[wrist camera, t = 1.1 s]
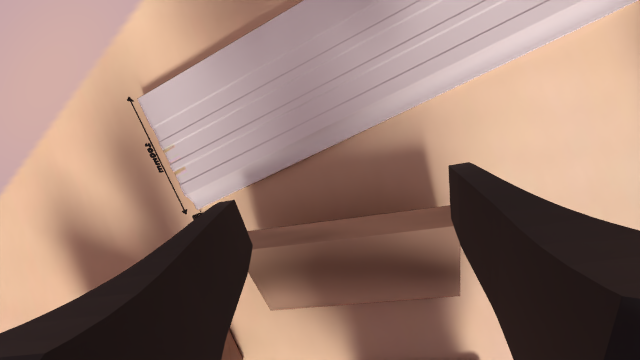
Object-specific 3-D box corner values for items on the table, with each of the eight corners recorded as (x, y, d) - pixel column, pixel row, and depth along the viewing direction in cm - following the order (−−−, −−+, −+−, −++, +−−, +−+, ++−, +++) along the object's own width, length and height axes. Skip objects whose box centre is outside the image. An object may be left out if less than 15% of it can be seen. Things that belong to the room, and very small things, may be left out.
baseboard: (670, 15, 18) (599, -162, 18) (722, -6, 15) (640, -217, 15) (211, 225, 25) (150, 100, 24) (190, 237, 22) (120, 96, 21)
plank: (453, 275, 21) (459, 296, 20) (274, 290, 24) (270, 310, 22) (453, 205, 18) (460, 225, 17) (242, 231, 20) (236, 251, 19)
